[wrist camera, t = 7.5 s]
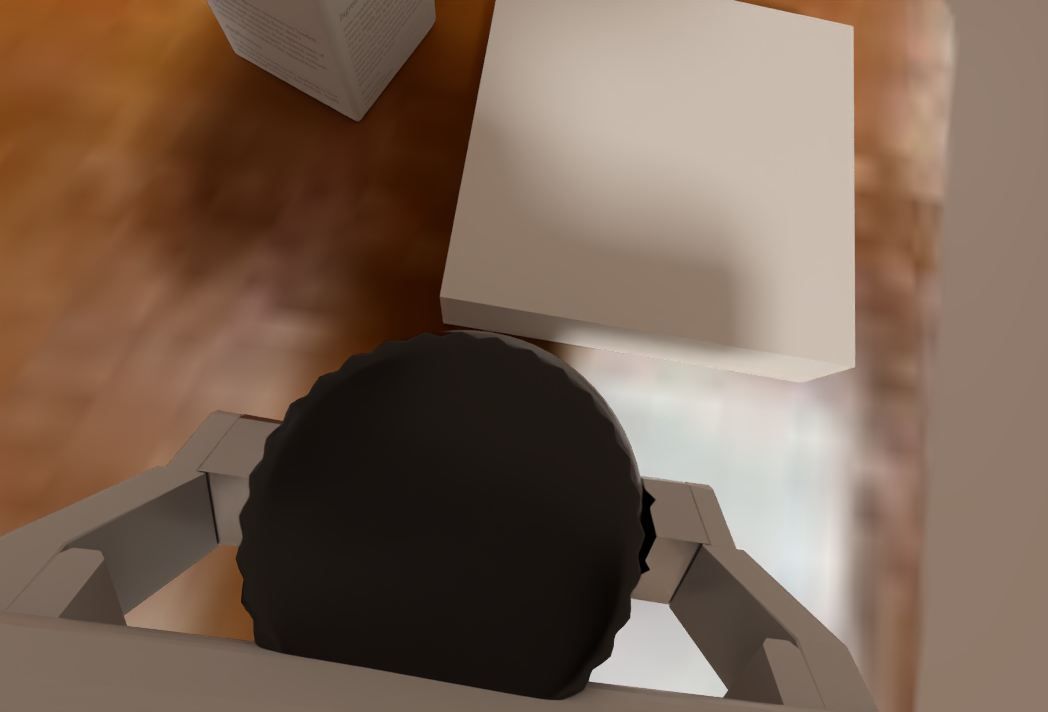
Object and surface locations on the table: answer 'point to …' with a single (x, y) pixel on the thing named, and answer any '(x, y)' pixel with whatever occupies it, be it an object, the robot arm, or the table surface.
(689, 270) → the stand
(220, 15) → the skincare box
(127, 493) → the robot arm
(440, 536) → the supplement bottle
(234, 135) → the table surface
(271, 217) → the table surface
